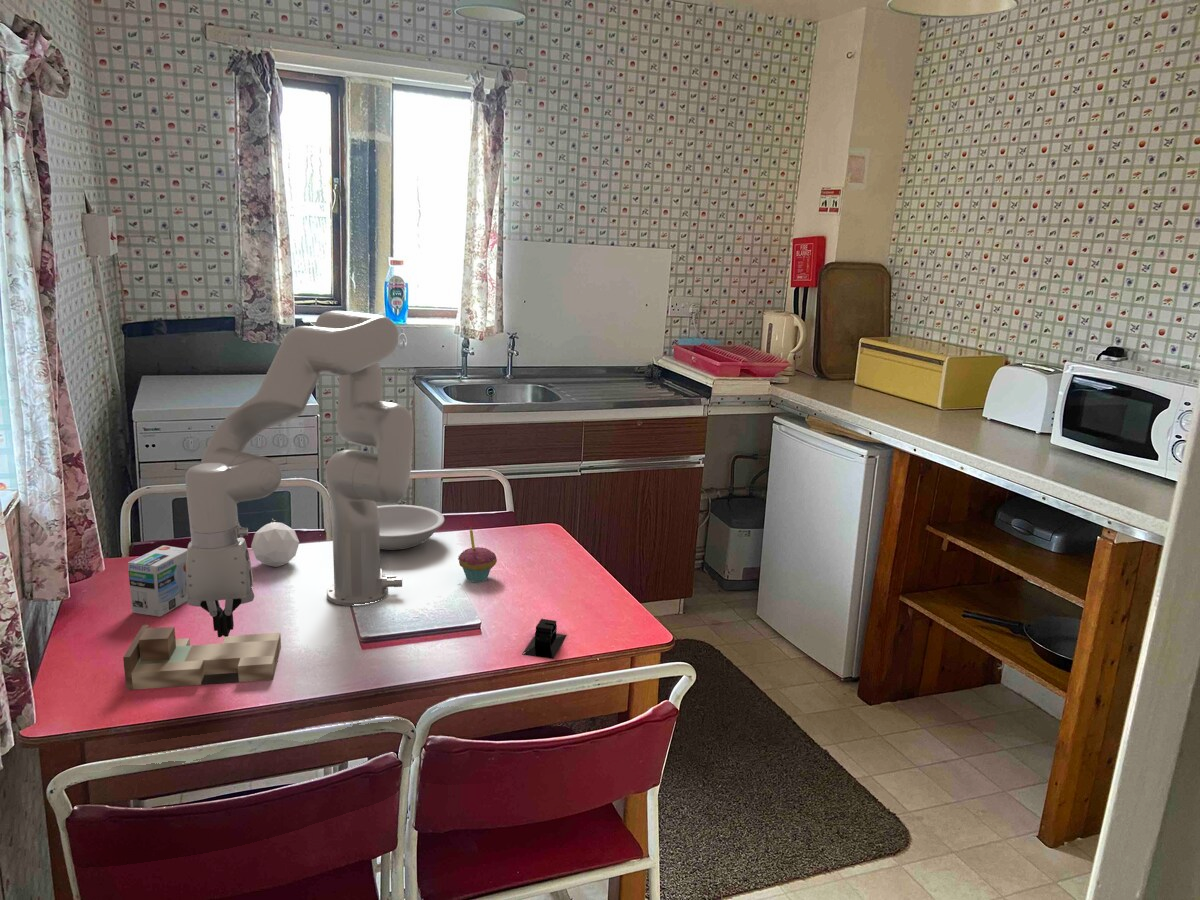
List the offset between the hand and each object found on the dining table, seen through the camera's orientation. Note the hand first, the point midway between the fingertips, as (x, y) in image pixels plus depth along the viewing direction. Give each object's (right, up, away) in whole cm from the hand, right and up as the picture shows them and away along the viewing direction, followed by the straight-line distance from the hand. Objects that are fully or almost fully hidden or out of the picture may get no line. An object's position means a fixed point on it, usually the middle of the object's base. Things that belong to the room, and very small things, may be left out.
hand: (224, 633), depth 153 cm
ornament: (-9, +6, +49) cm, 50 cm away
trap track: (-3, -6, 0) cm, 7 cm away
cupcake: (+38, +3, +45) cm, 59 cm away
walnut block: (-11, -3, -2) cm, 11 cm away
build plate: (+55, -6, +15) cm, 58 cm away
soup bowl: (+15, +8, +63) cm, 65 cm away
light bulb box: (-23, 0, +24) cm, 33 cm away
